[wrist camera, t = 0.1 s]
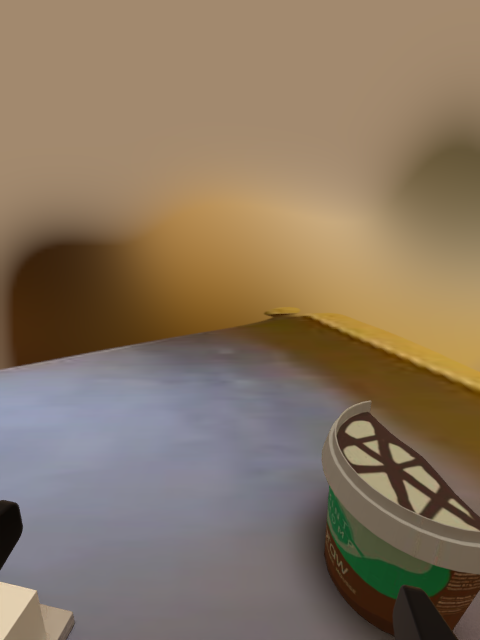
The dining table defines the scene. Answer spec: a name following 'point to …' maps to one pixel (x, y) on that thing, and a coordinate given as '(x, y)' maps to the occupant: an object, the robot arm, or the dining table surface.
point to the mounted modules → (20, 614)
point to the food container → (394, 524)
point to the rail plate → (57, 622)
